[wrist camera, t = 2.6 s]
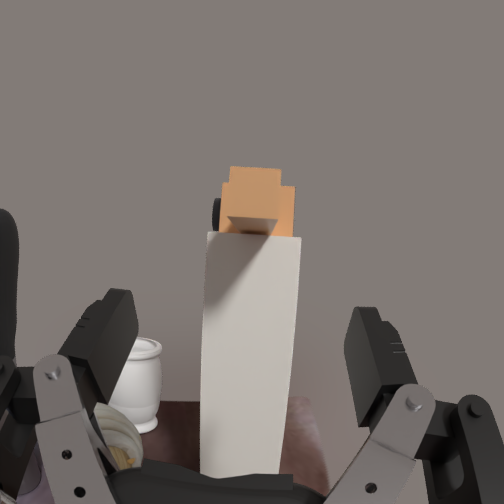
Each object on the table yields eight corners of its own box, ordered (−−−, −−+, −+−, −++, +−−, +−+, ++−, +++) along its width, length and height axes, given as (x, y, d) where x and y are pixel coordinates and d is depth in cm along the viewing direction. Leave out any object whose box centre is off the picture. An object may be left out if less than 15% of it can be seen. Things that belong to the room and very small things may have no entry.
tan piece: (317, 222, 19) (320, 135, 19) (187, 214, 19) (196, 129, 19) (291, 238, 34) (294, 188, 34) (219, 234, 34) (223, 184, 35)
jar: (126, 444, 40) (120, 357, 40) (94, 417, 46) (87, 339, 46) (175, 426, 49) (175, 347, 49) (140, 405, 55) (138, 333, 55)
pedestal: (270, 520, 27) (304, 169, 28) (190, 513, 27) (200, 164, 28) (268, 452, 43) (288, 201, 44) (209, 447, 43) (221, 197, 44)
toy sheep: (87, 523, 21) (66, 450, 21) (59, 447, 34) (48, 383, 35) (170, 506, 28) (165, 437, 28) (122, 441, 41) (116, 379, 41)
